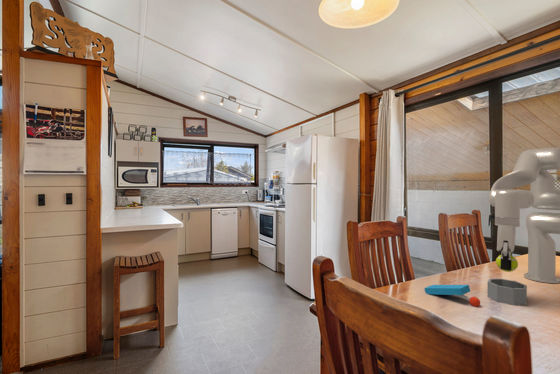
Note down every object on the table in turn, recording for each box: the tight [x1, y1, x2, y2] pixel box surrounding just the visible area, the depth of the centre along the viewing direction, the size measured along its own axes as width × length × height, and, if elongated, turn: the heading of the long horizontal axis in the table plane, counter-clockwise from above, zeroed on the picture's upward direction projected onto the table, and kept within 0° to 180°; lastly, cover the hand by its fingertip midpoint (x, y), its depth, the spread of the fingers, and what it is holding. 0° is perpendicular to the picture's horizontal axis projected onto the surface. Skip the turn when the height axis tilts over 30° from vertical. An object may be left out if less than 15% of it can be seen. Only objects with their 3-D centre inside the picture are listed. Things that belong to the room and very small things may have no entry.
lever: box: [423, 284, 481, 307], centre depth 111 cm, size 7×7×18 cm
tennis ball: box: [495, 254, 519, 273], centre depth 111 cm, size 7×7×7 cm
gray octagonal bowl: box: [487, 278, 528, 306], centre depth 111 cm, size 12×12×6 cm
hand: (506, 267), depth 111 cm, fingers closed on tennis ball, 6 cm apart
